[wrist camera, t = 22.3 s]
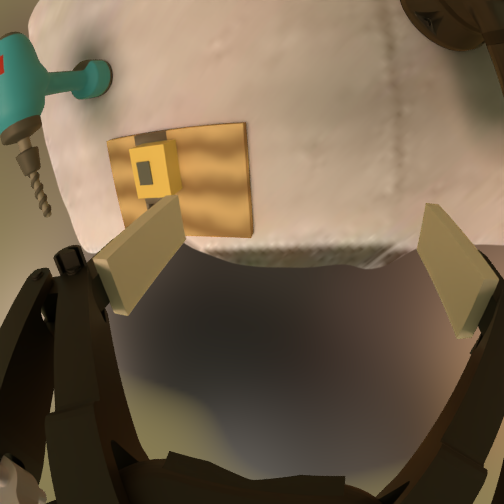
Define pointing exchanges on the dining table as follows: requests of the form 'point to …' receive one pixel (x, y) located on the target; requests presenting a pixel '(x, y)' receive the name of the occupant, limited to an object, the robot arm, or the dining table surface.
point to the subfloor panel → (195, 178)
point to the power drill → (38, 98)
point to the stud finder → (156, 169)
